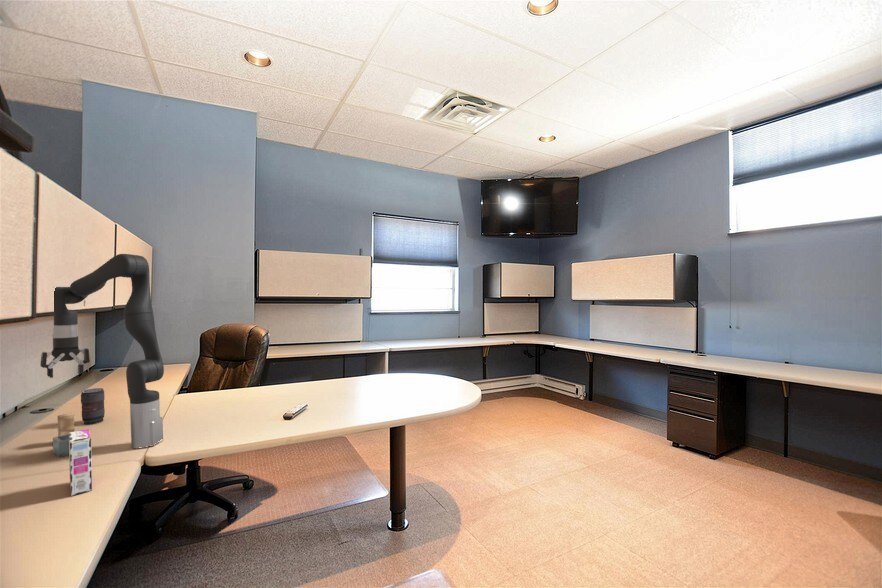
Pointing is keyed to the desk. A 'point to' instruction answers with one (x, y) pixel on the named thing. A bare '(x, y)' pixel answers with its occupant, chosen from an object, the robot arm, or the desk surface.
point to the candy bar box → (80, 462)
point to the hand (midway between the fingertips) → (65, 375)
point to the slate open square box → (61, 445)
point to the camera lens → (92, 406)
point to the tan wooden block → (65, 424)
